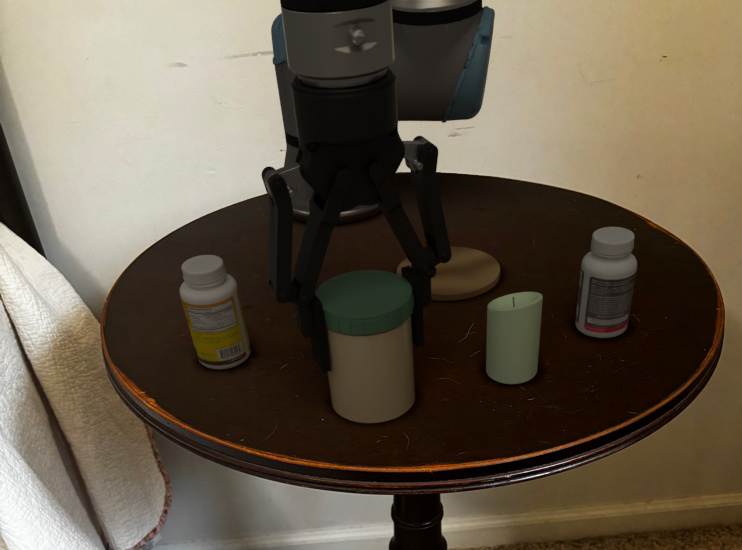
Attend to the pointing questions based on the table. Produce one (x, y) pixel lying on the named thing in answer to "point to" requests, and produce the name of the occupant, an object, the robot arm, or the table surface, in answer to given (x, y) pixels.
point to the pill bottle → (606, 283)
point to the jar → (372, 374)
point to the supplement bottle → (214, 313)
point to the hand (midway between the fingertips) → (369, 351)
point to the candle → (513, 337)
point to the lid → (365, 302)
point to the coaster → (462, 275)
